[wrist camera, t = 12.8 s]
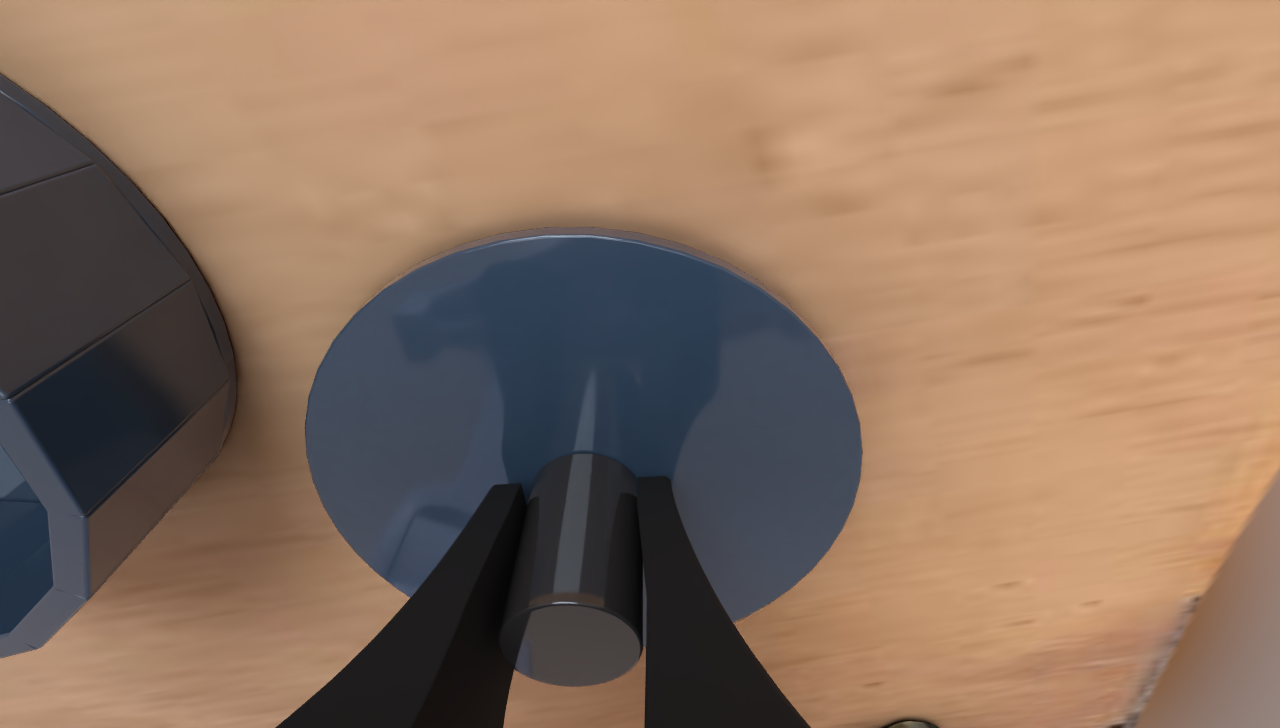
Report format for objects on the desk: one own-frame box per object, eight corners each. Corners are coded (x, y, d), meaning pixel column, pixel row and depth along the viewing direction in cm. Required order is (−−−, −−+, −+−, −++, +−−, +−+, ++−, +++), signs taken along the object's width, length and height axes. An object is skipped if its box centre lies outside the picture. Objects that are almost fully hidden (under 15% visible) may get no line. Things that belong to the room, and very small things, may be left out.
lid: (965, 364, 13) (1113, 538, 9) (691, 657, 19) (705, 839, 15) (396, 93, 10) (231, 168, 6) (288, 542, 16) (169, 730, 12)
